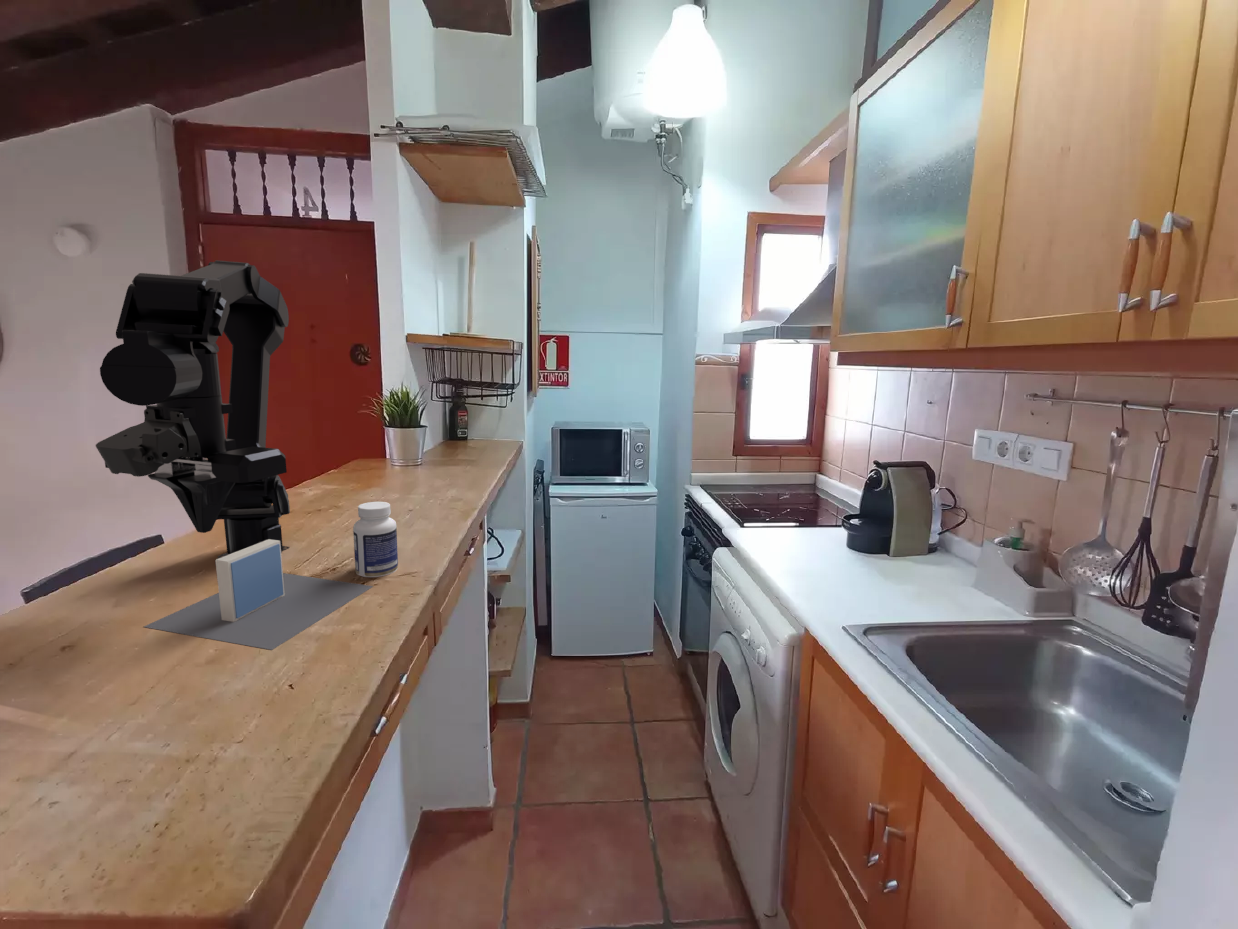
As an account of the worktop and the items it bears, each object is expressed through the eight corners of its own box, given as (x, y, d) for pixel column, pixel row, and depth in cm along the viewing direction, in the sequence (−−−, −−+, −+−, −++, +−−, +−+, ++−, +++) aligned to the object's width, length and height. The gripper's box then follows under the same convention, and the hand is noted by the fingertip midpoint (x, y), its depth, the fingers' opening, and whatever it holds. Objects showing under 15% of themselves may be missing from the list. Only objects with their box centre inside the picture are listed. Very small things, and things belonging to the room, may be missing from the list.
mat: (143, 631, 59) (143, 626, 59) (267, 574, 74) (267, 570, 74) (272, 655, 56) (271, 649, 55) (373, 590, 71) (373, 586, 71)
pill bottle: (406, 569, 78) (404, 503, 76) (378, 584, 73) (375, 513, 71) (375, 563, 80) (373, 497, 78) (346, 576, 75) (342, 507, 73)
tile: (221, 619, 61) (215, 559, 59) (273, 593, 67) (268, 539, 66) (235, 622, 60) (229, 561, 59) (285, 595, 67) (281, 540, 66)
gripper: (33, 395, 54) (58, 545, 58) (189, 408, 51) (207, 568, 54) (149, 388, 65) (165, 515, 68) (285, 399, 61) (295, 532, 65)
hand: (204, 531), depth 63 cm, fingers closed
